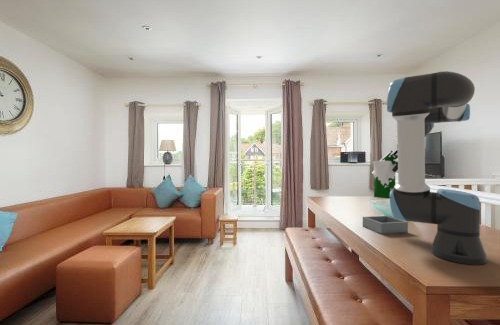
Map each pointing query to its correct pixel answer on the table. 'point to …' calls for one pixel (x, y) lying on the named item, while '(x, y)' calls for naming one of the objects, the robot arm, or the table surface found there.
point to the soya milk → (383, 178)
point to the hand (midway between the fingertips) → (380, 175)
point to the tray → (385, 224)
